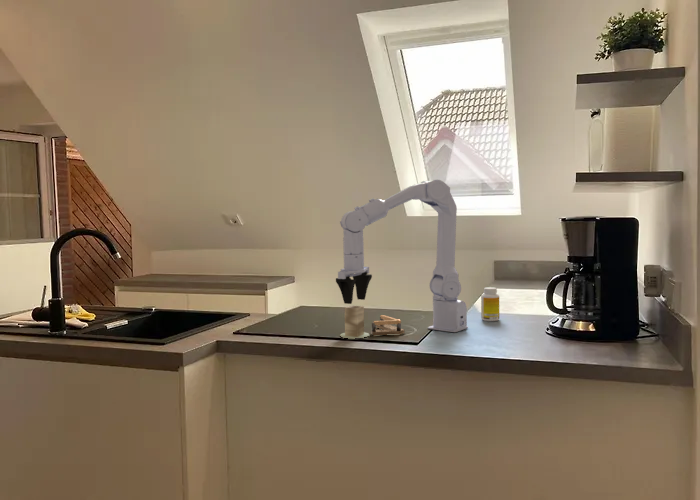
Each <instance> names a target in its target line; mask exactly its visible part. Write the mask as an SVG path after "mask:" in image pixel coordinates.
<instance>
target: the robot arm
mask: <svg viewBox="0 0 700 500" xmlns="http://www.w3.org/2000/svg"><path fill="white" fill-rule="evenodd" d="M412 200H418V201H420V202H422V203H424V204H427V205H429V206H430V207H431V208H432V209H433V210H434V211H436V213H437V231H436V232H437V233H436V234H437V236H436V262H435V263H436V266H435V267H434V269H433V271H432V277H431V279H430V281H429V289H430V291H431V293H432V294H433V295H432V319H433V321H432V325H430V326H427V327H426V328H427V329H428V330H436V331H440V332H441V331H442V332H449V333H457V332H460V331H463V330H466V329H468V328H469V326H468V325H467V324H468V320H467V310H468V309H467V305H466V302H465V301H464V300H460V299H458V298H459V296H460V294H461V291H462V285H461V282H460V278H459V272H458V271H457V269H456V266H455V261H456V236H457V235H456V234H457V212H458V211H457V204H456V202H455V199H454V197H453V196H452V193H451V187H450V186H449V185H448V184H447V183H446V182H445V181H443V180H441V179H433V180H423V181H420V183H416V184H415V183H414V184H412V185H409V186H408V187H406V188H404V189H402V190H400V191H398V192H396V193H395V194H392V195H390V196H389V197H387V198H385V199H380V198H374V197H373V198H370V199H368V202H367V203H365V204H363V205H361V206H354V210H352V211H351V210H350V211H347V212H345V213H344V214H343V215H342V216H341V220H340V221H339V224H340V226H341V228H342V231H343V233H342V235H343V238H342V239H343V240H342V242H343V243H342V244H343V268H341V269H340V271H337V278H335V283H336V284H337V286H338V288H339V290H340V292H341V295H342V299H343V303H344V304H348V305H352V303H353V299H354V298H353V297H354V287H355V290H356V298H357V300H363V301H364V300H365V299H366V295H367V292H368V287H369V284H370V283H371V280H372V278H373V274H372V273H371V274H370V266H365V253H364V251H365V250H364V249H365V248H364V244H365V243H364V229H365V227H366V226H369V225H372V224H373V223H376V222H377V221H380V220H381V219H384V218H386V217H387V215H388V213H389V211H390V210H391V209H394V208H396V207H399V206H401V205H404V204H406V203H407V202H410V201H412ZM351 277H352V278H351Z"/></svg>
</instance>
